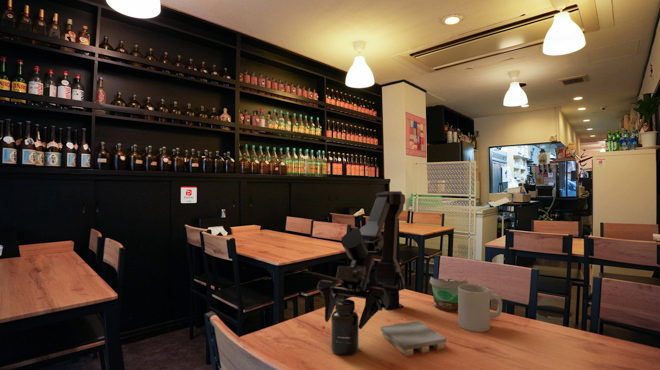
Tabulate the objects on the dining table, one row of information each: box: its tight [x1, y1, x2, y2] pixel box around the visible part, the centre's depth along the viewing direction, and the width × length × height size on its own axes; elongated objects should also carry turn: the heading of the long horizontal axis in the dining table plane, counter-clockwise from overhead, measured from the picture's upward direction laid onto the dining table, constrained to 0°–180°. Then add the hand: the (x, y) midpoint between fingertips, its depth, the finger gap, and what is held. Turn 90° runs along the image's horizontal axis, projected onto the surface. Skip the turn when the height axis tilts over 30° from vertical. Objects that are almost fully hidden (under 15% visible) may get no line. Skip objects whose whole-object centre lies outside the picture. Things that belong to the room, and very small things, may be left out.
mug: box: [457, 283, 503, 333], centre depth 97 cm, size 12×8×11 cm
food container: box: [429, 275, 469, 313], centre depth 110 cm, size 12×6×10 cm, turn 68°
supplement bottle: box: [330, 298, 360, 357], centre depth 84 cm, size 7×7×12 cm
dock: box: [380, 320, 447, 357], centre depth 87 cm, size 12×12×2 cm
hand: (342, 324), depth 82 cm, fingers open, 9 cm apart
